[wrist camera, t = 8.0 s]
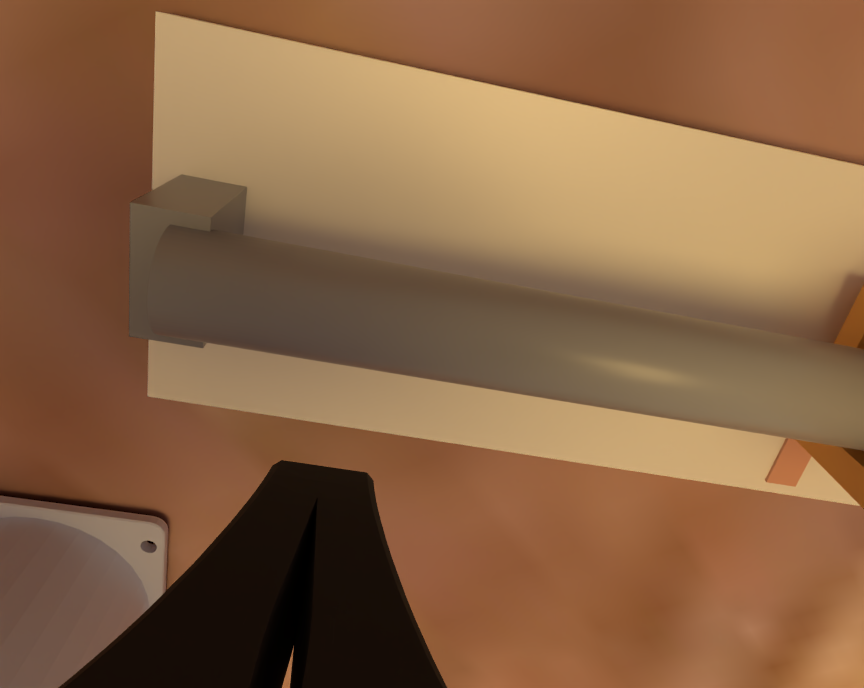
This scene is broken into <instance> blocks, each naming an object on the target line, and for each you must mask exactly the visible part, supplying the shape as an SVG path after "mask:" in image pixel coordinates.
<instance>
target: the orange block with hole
mask: <svg viewBox="0 0 864 688" xmlns="http://www.w3.org/2000/svg"><path fill="white" fill-rule="evenodd" d="M834 344H839V345H844V346H850V347H855V348H861V349H864V284H863V286H862V288H861V290H860V292H859V294H858V296H857V298H856V300H855V302H854V304H853V306H852V308H851V310H850V312H849V314H848V316H847V318H846V320H845V322H844V324H843V326H842V328H841V330H840V332H839V334H838V336H837V338H836V340H835V342H834ZM796 441H797V442H798V443H799V444H800V445H801V446H802V447H803V448H804V449H805V450H806V451H807V452H808V453H809V454H810V455H811V456H812V457H813V458H814V459H815V460H816V461H817V462H818V463H819V464H820V465H821V466H822V467H823V468H824V469H825V470H826V471H827V472H828V473H829V474H830V475H831V476H832V477H833V478H834V479H835V480H836V481H837V482H838V483H839V484H840V485H841V486H842V487H843V489H844V490H845V491H846V492H847V493H848V494H849V495H850V496H851V497H852V498H853V499H854V500H855V501H856V502H857V503H858V504H859V505H860V506H861V507H862V508H863V509H864V451H862V450H856V449H850V448H844V447H838V446H832V445H826V444H820V443H814V442H807V441H801V440H796Z"/></svg>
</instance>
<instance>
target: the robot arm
mask: <svg viewBox="0 0 864 688" xmlns="http://www.w3.org/2000/svg"><path fill="white" fill-rule="evenodd" d="M147 541H152V542H154V543H155V544H150V543H148V542H147ZM167 549H168V526H167V524H166V523H165V522H164V521H163V520H162V519H160V518H158V517H155V516H150V515H142V514H135V513H127V512H120V511H112V510H105V509H97V508H90V507H82V506H75V505H67V504H60V503H52V502H45V501H37V500H30V499H22V498H15V497H7V496H0V688H282V685H283V682H284V678H285V675H286V671H287V668H288V664H289V661H290V657H291V653H292V650H293V646H294V652H293V662H292V672H291V683H290V688H447V687H446V685H445V683H444V681H443V678H442V676H441V674H440V672H439V670H438V668H437V666H436V664H435V662H434V660H433V658H432V656H431V654H430V652H429V649H428V647H427V645H426V643H425V640H424V638H423V636H422V634H421V631H420V629H419V627H418V624H417V622H416V620H415V618H414V615H413V613H412V610H411V608H410V605H409V603H408V600H407V598H406V595H405V593H404V590H403V587H402V585H401V582H400V579H399V576H398V574H397V571H396V568H395V565H394V562H393V560H392V557H391V554H390V551H389V548H388V545H387V541H386V538H385V534H384V531H383V527H382V524H381V520H380V516H379V512H378V508H377V503H376V498H375V492H374V483H373V480H372V478H371V477H370V476H369V475H368V473H365V472H358V471H352V470H345V469H338V468H331V467H324V466H317V465H310V464H304V463H297V462H290V461H283V460H281V461H280V462H278V463H276V464H275V465H273V466H272V467H271V469H270V471H269V472H268V474H267V476H266V477H265V478H264V480H263V481H262V483H261V484H260V486H259V487H258V488H257V490H256V491H255V492H254V494H253V495H252V496H251V498H250V499H249V500H248V501H247V503H246V504H245V505H244V506H243V508H242V509H241V510H240V511H239V513H238V514H237V515H236V516H235V518H234V519H233V520H232V521H231V522H230V523H229V525H228V526H227V527H226V528H225V529H224V530H223V531H222V532H221V534H220V535H219V536H218V537H217V538H216V539H215V540H214V541H213V543H212V544H211V545H210V546H209V547H208V548H207V549H206V550H205V552H204V553H203V554H202V555H201V556H200V557H199V558H198V559H197V560H196V561H195V562H194V563H193V565H192V566H191V567H190V568H189V569H188V570H187V571H186V572H185V573H184V574H183V575H182V576H181V577H180V578H179V579H178V580H177V581H176V582H175V583H174V584H173V585H172V586H171V587H170V588H169V589H168V590H167V591H166V573H167Z"/></svg>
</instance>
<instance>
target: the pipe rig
mask: <svg viewBox="0 0 864 688" xmlns="http://www.w3.org/2000/svg"><path fill="white" fill-rule="evenodd" d="M863 284H864V165H860V164H856V163H851V162H847V161H842V160H837V159H833V158H828V157H824V156H819V155H815V154H810V153H805V152H801V151H796V150H792V149H787V148H783V147H778V146H774V145H769V144H764V143H760V142H755V141H751V140H746V139H742V138H737V137H732V136H728V135H723V134H719V133H714V132H710V131H705V130H700V129H696V128H691V127H687V126H682V125H678V124H673V123H668V122H664V121H659V120H655V119H650V118H646V117H641V116H636V115H632V114H627V113H623V112H618V111H614V110H609V109H605V108H600V107H595V106H591V105H586V104H582V103H577V102H573V101H568V100H563V99H559V98H554V97H550V96H545V95H541V94H536V93H531V92H527V91H522V90H518V89H513V88H509V87H504V86H499V85H495V84H490V83H486V82H481V81H477V80H472V79H468V78H463V77H458V76H454V75H449V74H445V73H440V72H436V71H431V70H426V69H422V68H417V67H413V66H408V65H404V64H399V63H394V62H390V61H385V60H381V59H376V58H372V57H367V56H362V55H358V54H353V53H349V52H344V51H340V50H335V49H331V48H326V47H321V46H317V45H312V44H308V43H303V42H299V41H294V40H289V39H285V38H280V37H276V36H271V35H267V34H262V33H257V32H253V31H248V30H244V29H239V28H235V27H230V26H225V25H221V24H216V23H212V22H207V21H203V20H198V19H194V18H189V17H184V16H180V15H175V14H171V13H164V12H157V11H156V19H155V66H154V113H153V160H152V191H150V192H148V193H146V194H145V195H143V196H141V197H139V198H137V199H135V200H134V201H132V202H130V270H129V336H130V337H136V338H142V339H148V340H149V347H148V394H147V396H148V397H154V398H161V399H168V400H174V401H181V402H187V403H194V404H200V405H207V406H213V407H220V408H226V409H233V410H239V411H246V412H252V413H259V414H265V415H272V416H278V417H285V418H291V419H298V420H304V421H311V422H317V423H324V424H330V425H337V426H343V427H350V428H356V429H363V430H369V431H376V432H382V433H389V434H395V435H402V436H408V437H415V438H422V439H428V440H435V441H441V442H448V443H454V444H461V445H467V446H474V447H480V448H487V449H493V450H500V451H506V452H513V453H519V454H526V455H532V456H539V457H545V458H552V459H558V460H565V461H571V462H578V463H584V464H591V465H597V466H604V467H610V468H617V469H623V470H630V471H636V472H643V473H649V474H656V475H662V476H669V477H675V478H682V479H689V480H695V481H702V482H708V483H715V484H721V485H728V486H734V487H741V488H747V489H754V490H760V491H767V492H773V493H780V494H786V495H793V496H799V497H806V498H812V499H819V500H825V501H832V502H838V503H845V504H851V505H858V506H860V505H859V504H858V503H857V502H856V501H855V500H854V499H853V498H852V497H851V496H850V495H849V494H848V493H847V492H846V491H845V490H844V489H843V487H842V486H841V485H840V484H839V483H838V482H837V481H836V480H835V479H834V478H833V477H832V476H831V475H830V474H829V473H828V472H827V471H826V470H825V469H824V468H823V467H822V466H821V465H820V464H819V463H818V462H817V461H816V460H815V459H814V458H813V457H812V456H811V455H810V454H809V453H808V452H807V451H806V450H805V449H804V448H803V447H802V446H801V445H800V444H799V443H798V442H797V441H796V440H801V441H807V442H814V443H820V444H826V445H832V446H838V447H844V448H850V449H856V450H862V451H864V349H861V348H855V347H850V346H844V345H839V344H834V342H835V340H836V338H837V336H838V334H839V332H840V330H841V328H842V326H843V324H844V322H845V320H846V318H847V316H848V314H849V312H850V310H851V308H852V306H853V304H854V302H855V300H856V298H857V296H858V294H859V292H860V290H861V288H862V286H863Z"/></svg>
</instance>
